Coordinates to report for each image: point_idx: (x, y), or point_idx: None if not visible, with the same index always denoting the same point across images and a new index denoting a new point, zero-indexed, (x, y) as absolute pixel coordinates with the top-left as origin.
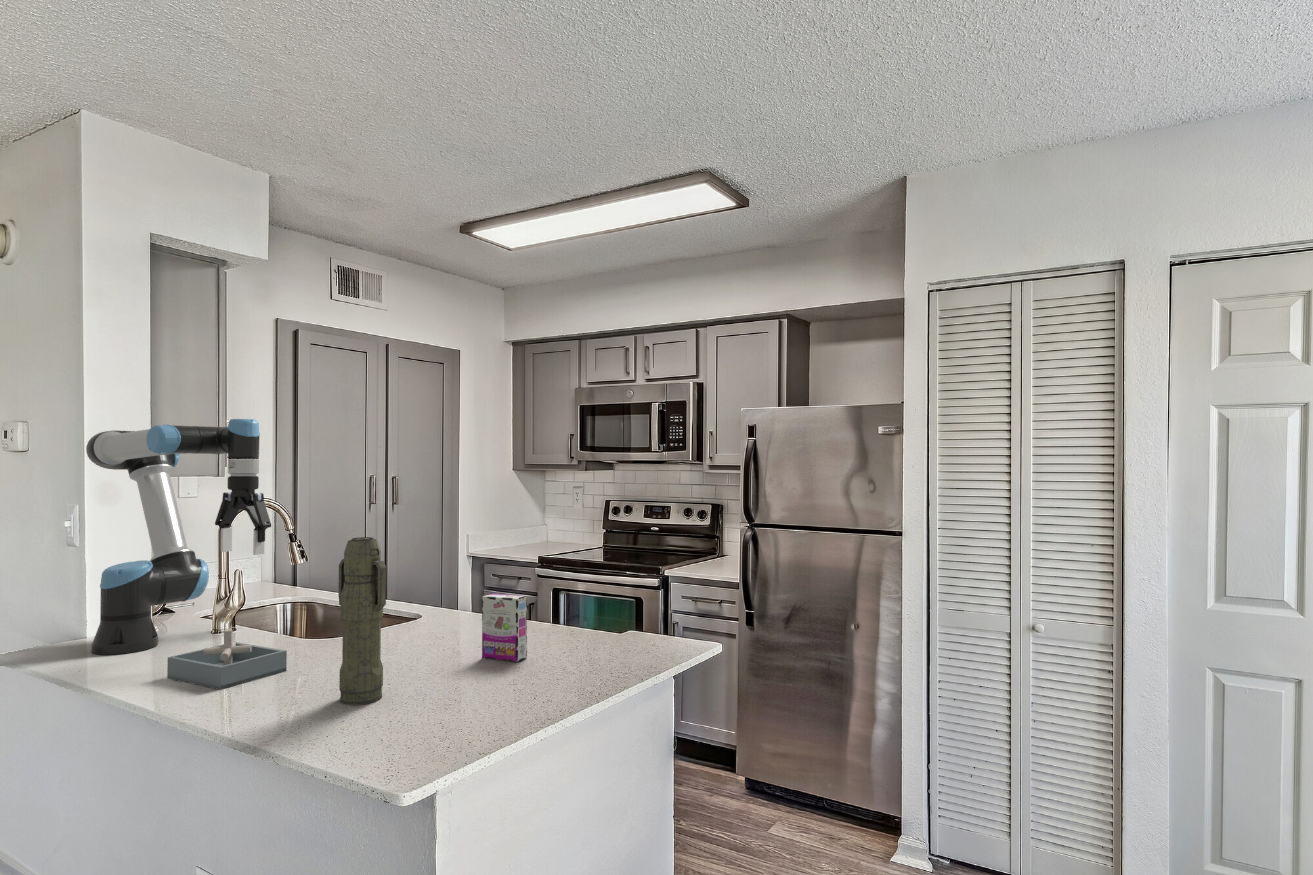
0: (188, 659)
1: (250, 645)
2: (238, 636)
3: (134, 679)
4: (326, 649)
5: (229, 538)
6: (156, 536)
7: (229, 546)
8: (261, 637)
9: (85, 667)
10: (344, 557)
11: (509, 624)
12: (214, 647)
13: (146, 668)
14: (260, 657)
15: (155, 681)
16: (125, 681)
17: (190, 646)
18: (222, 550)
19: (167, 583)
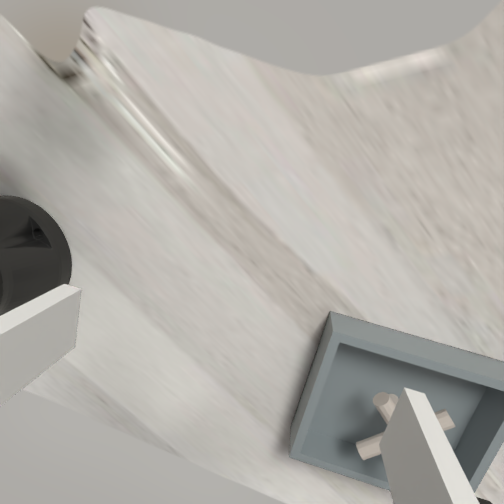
0: (346, 468)
1: (453, 425)
2: (155, 93)
3: (238, 434)
4: (500, 170)
5: (6, 351)
6: None
7: (56, 318)
8: (223, 87)
9: (88, 381)
10: None
11: None
12: (380, 452)
13: (197, 375)
14: (500, 446)
15: (285, 441)
16: (234, 445)
17: (130, 214)
18: (66, 351)
19: None
